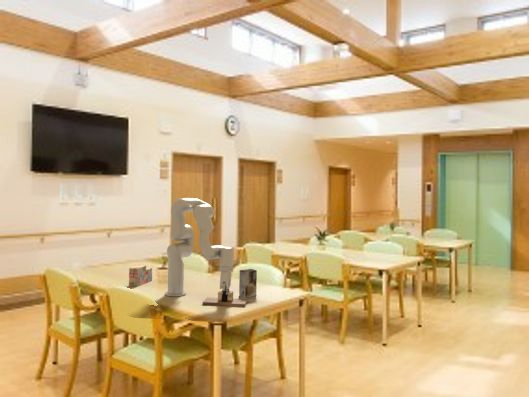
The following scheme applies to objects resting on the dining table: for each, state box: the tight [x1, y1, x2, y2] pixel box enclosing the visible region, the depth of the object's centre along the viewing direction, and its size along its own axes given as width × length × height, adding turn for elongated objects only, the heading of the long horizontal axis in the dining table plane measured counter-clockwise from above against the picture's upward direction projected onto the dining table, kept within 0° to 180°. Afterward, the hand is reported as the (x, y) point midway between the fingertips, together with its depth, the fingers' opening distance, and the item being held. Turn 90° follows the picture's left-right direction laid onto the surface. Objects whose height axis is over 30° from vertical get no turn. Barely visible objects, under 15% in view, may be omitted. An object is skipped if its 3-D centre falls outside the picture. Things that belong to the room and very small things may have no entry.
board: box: [201, 296, 249, 308], centre depth 268 cm, size 12×24×2 cm, turn 84°
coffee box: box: [238, 268, 258, 299], centre depth 288 cm, size 9×6×16 cm
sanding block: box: [217, 289, 234, 302], centre depth 268 cm, size 5×8×5 cm, turn 84°
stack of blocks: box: [128, 264, 153, 288], centre depth 317 cm, size 21×6×12 cm, turn 167°
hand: (225, 299), depth 268 cm, fingers closed on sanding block, 5 cm apart
